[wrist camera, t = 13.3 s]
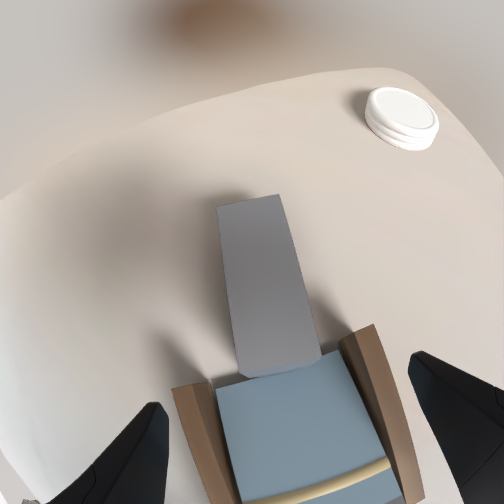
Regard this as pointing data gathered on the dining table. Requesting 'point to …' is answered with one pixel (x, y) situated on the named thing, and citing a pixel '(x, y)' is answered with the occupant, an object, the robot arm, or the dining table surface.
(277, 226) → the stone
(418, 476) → the hatch frame
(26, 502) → the fossil rock
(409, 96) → the coaster
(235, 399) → the trapdoor
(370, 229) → the dining table surface
